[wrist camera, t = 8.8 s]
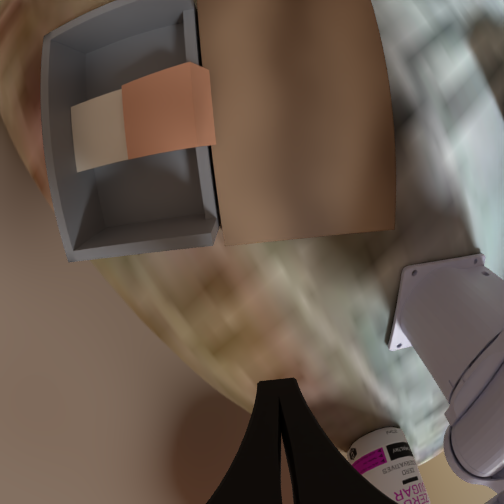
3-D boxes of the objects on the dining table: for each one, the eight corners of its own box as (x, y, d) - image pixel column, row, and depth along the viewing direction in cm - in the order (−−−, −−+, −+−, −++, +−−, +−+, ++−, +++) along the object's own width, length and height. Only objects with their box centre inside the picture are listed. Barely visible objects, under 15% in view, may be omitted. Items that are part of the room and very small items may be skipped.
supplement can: (345, 459, 30) (364, 541, 16) (346, 437, 27) (371, 537, 13) (396, 442, 29) (423, 519, 15) (405, 416, 26) (442, 507, 12)
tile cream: (143, 92, 13) (130, 86, 11) (149, 155, 15) (136, 157, 13) (87, 109, 13) (70, 107, 11) (93, 168, 15) (77, 172, 13)
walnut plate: (357, 6, 11) (368, -6, 9) (380, 220, 17) (394, 229, 15) (201, 7, 11) (196, -7, 10) (227, 234, 17) (224, 246, 15)
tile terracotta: (209, 70, 11) (189, 61, 10) (216, 144, 13) (197, 146, 11) (144, 88, 12) (121, 85, 11) (151, 155, 14) (128, 159, 12)
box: (198, 14, 12) (184, -20, 7) (221, 219, 17) (212, 245, 12) (81, 51, 12) (43, 36, 8) (103, 235, 17) (68, 262, 13)
